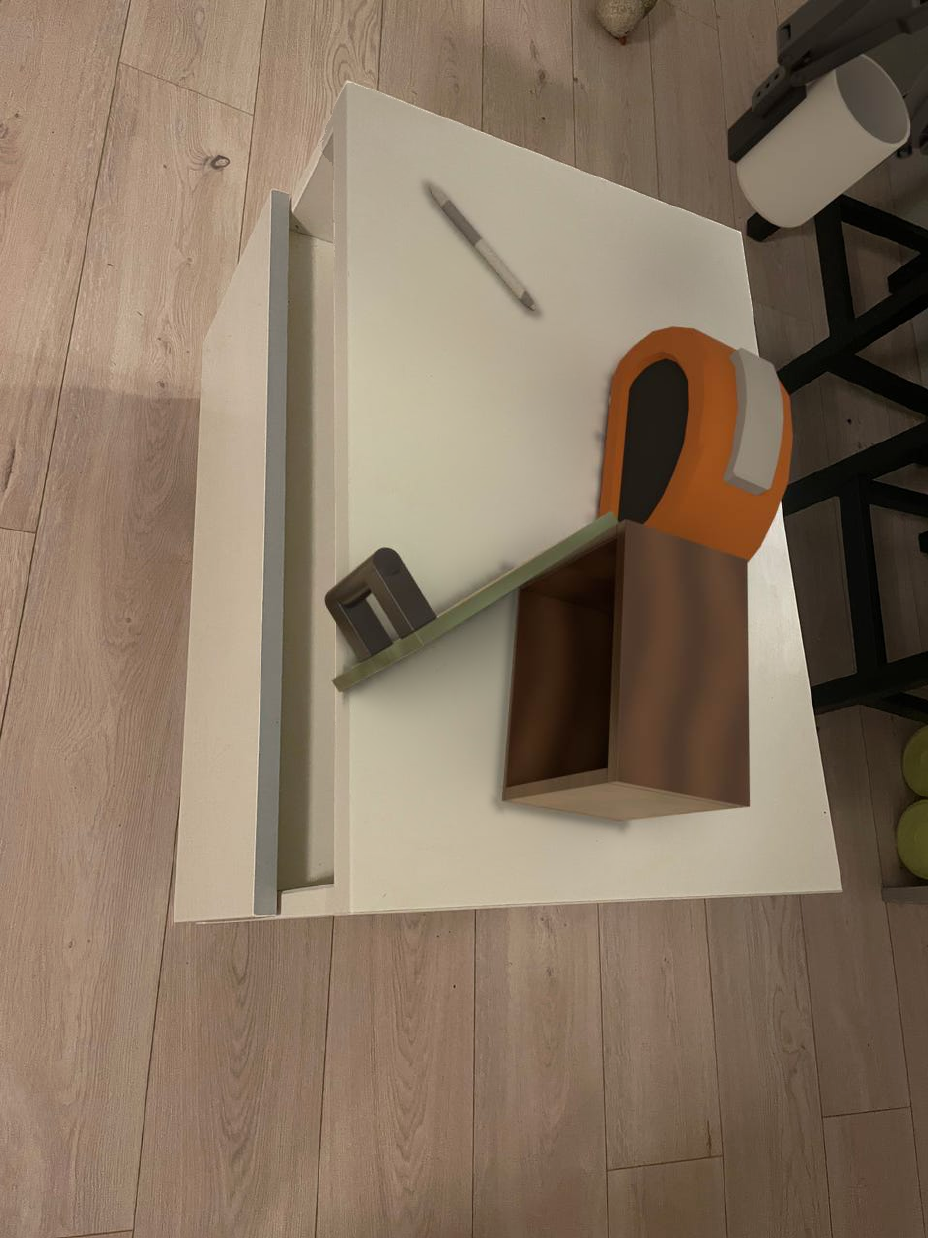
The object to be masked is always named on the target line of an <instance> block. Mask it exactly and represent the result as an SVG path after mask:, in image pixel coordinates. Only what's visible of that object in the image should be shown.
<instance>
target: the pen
mask: <svg viewBox="0 0 928 1238" xmlns="http://www.w3.org/2000/svg"><path fill="white" fill-rule="evenodd" d="M429 187H430V188H429V189H430V193H431V194H432V196H433V198H434V200H435V201H436V202H437V204H438V205H439V206H440V207H441V209H442V210H443V212H444V213H445V214H446V215H447V216H448V217H449V219H450V220H451V221H452V223H453V224H454V225H455V226H456V227H457V228H458V229H459V230H460V232H461V233H462V234H463V235H464V236H465V238H466V239H467V240H468V242H470V244H471V245H472V246H473V247H474V248H475V250H477V251H478V252H479V254H481V256H482V257H483V258H484V259H485V260H486V262H487V263H488V264H489V265H490V266H491V268H492V269H493V270H494V271H495V272H496V274H497V275H498V276H499V277H500V279H502V281H503V282H504V283H505V284H506V286H508V288H509V289H510V290H511V291H512V293H513V294H514V295H515V296H516V297H517V298H518V299H519V301H520V302H521V303H522V304H523V305H524V306H525V307H527V308H528V309H531V310H532V311H534V310H535V309H536V305H535V302H534V299H533V298H532V296H531V295H530V294H529V292H528V291H527V290H526V289H525V288H524V287H523V285H522V284H521V283H520V282H519V281H518V280H517V278H516V276H514V275H513V273H511V271H510V270H509V269H508V268H507V266H505V264H504V263H503V262H502V260H501V259H500V258H499V257H498V255H496V253H495V252H494V251H493V250H492V249H491V248H490V246H489V245H488V244H487V242H486V241H485V240H484V239H483V237H482V236H481V235H480V234H479V233H478V231H477V230H476V229H475V228H474V227H473V226H472V224H471V223H470V222H469V221H468V219H467V218H466V217H465V216H464V215H463V214H462V212H461V211H460V210H459V209H458V208H457V206H455V204H454V203H453V202H452V201H451V200H450V199H449V198H448V197H447V195H446V194H444V193H443V191H441V190H440V189H439V188H437V187H435V186H434V185H429Z"/></svg>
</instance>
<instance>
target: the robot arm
mask: <svg viewBox="0 0 928 1238" xmlns="http://www.w3.org/2000/svg"><path fill="white" fill-rule="evenodd" d="M927 27H928V0H919V5H918V6H917V0H807V1H806V2H804V4H802V5H801V6H800V7H799V8H798V9H797V10H795V11H794V12H793V13H792V14H791V15H790V16H788V17H787V18H786V19H785V20H784V21H783V22H781V23H780V24H779V26H778V27H776V30H775V40H776V41H775V42H776V59H777V61H776V62H777V64H778V66H777V67H776V68H775V69H774V70H773V71H772V72H771V73H770V74H769V75H768V76H767V77H766V78H765V79H764V80H763V81H762V82H761V84H760V85H759V86H757V87H756V88H755V90H754V91H753V93H752V94H751V95H752V96H751V106H750V107H749V108H748V109H747V110H746V111H745V112H744V113H743V114H742V115H741V116H740V117H739V118H738V119H737V120H735V122H733V124H732V125H731V126H730V127H728V129H727V160H729V161H730V162H732V163H734V164H737V162H738V161H739V160H740V159H742V158H743V157H744V156H745V155H746V154H747V153H748V152H749V151H750V150H751V149H752V148H753V147H754V146H755V145H756V144H758V143H759V142H760V141H761V140H762V139H763V138H764V137H765V136H766V135H767V134H768V133H769V132H770V131H771V130H772V129H774V128H775V127H776V126H777V125H778V124H779V123H780V122H781V121H782V120H783V119H784V118H785V117H786V116H787V115H788V114H790V113H791V112H792V111H793V110H794V109H795V108H796V107H797V106H798V105H799V104H800V103H801V102H802V101H803V100H804V99H806V98H807V96H806V84H807V83H809V82H811V81H813V80H815V79H817V78H819V77H820V76H822V75H824V74H826V73H828V72H830V71H832V70H834V69H836V68H837V67H839V66H841V65H843V64H845V63H847V62H849V61H851V60H852V59H854V58H856V57H858V56H860V55H862V54H864V55H865V53H867V52H869V51H872V50H873V49H875V48H877V47H879V46H881V45H882V44H884V43H886V42H889V41H890V40H892V39H894V38H896V37H898V36H900V35H902V34H906V35H913V34H915V33H918V32H919V31H921V30H923V29H925V28H927ZM903 100H904V102H905V105H906V108H907V111H908V114H909V120H910V135H909V137H908V139H907V142H906V143H904V144H903V145H902V146H901V147H899V148H898V149H897V150H896V151H894V152H893V153H892V154H891V155H889V156H888V157H887V158H885V159H884V160H883V161H882V162H880V163H879V164H878V165H877V166H875V167H874V168H873V169H872V170H870V171H869V172H868V173H867V174H865V175H864V176H863V177H865V176H868V175H870V174H872V172H873V171H875V170H876V168H879V166H881V165H882V164H883V163H885V162H886V161H887V160H889V159H890V158H891V157H892V156H894V157H895V158H896V159H897V160H906V159H909V158H910V157H912V156H913V155H914V151H913V149H918V150H919V152H920V154H921V155H922V156H928V63H927V64H926V65H925V67H924V68H923V70H922V72H921V73H920V75H919V76H918V77H917V79H916V81H915V82H914V84H913V85H912V86H911V88H910V90H909V91H908V92H907V94H906V96H905V97H904V98H903Z"/></svg>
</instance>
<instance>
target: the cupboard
mask: <svg viewBox="0 0 928 1238" xmlns="http://www.w3.org/2000/svg"><path fill="white" fill-rule="evenodd" d="M748 564H749V562H748V560H747V559H744V558H741V557H738V556H735V555H732V554H729V553H726V552H723V551H720V550H717V549H714V548H711V547H708V546H705V545H702V544H699V543H696V542H693V541H690V540H687V539H684V538H681V537H678V536H675V535H672V534H669V533H666V532H663V531H660V530H657V529H654V528H651V527H648V526H645V525H642V524H639V523H636V522H633V521H630V520H627V519H625V520H624V521H622V522H620V523H618V524H617V525H615V526H613V527H612V528H610V529H609V530H607V531H606V532H604V533H602V534H601V535H599V536H598V537H596V538H595V539H593V540H591V541H590V542H588V543H587V544H585V545H583V546H582V547H580V548H579V549H577V550H576V551H574V552H572V553H571V554H569V555H568V556H566V557H565V558H563V559H561V560H560V561H558V562H557V563H555V564H553V565H552V566H550V567H549V568H547V569H546V570H544V571H542V572H541V573H539V574H538V575H536V576H534V577H533V578H531V579H530V580H528V581H527V582H525V583H523V584H522V585H520V586H519V587H517V597H516V608H515V609H516V612H515V624H514V635H513V637H514V638H513V648H512V649H513V650H512V662H511V675H510V677H511V678H510V689H509V703H508V713H507V715H508V716H507V727H506V741H505V755H504V766H503V778H502V779H503V780H502V790H501V791H502V792H501V793H502V794H501V801H502V802H504V803H505V802H506V803H510V804H511V803H512V804H518V805H522V806H529V807H536V808H540V809H546V810H552V811H556V812H557V811H558V812H562V813H563V812H564V813H570V814H576V815H582V816H587V817H593V818H599V819H605V820H610V821H611V820H612V821H616V822H624V821H632V820H643V819H651V818H661V817H670V816H677V815H679V816H680V815H688V814H689V815H690V814H696V813H705V812H714V811H715V812H717V811H722V810H723V811H725V810H732V809H742V808H743V809H744V808H750V807H751V756H750V755H751V753H750V752H751V751H750V749H751V748H750V747H751V745H750V743H751V742H750V741H751V740H750V739H751V738H750V663H749V662H750V659H749V657H750V656H749V655H750V654H749V653H750V651H749V650H750V649H749V646H750V645H749V570H748V569H749V568H748V567H749V565H748Z"/></svg>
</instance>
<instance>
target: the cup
mask: <svg viewBox="0 0 928 1238" xmlns="http://www.w3.org/2000/svg"><path fill="white" fill-rule="evenodd" d="M806 96H807V98H806V99H804V100H803V101H802V102H801V103H800V104H799V105H798V106H797V107H796V108H795V109H794V110H793V111H792V112H791V113H790V114H788V115H787V116H786V117H785V118H784V119H783V120H782V121H781V122H780V123H779V124H778V125H777V126H776V127H775V128H774V129H772V130H771V131H770V132H769V133H768V134H767V135H766V136H765V137H764V138H763V139H762V140H761V141H760V142H759V143H758V144H756V145H755V146H754V147H753V148H752V149H751V150H750V151H749V152H748V153H747V154H746V155H745V156H744V157H743V158H742V159H740V160H739V161H738V162H737V163H736V172H737V173H736V175H737V179H738V182H739V186H740V188H741V190H742V193H743V194H744V196H745V198H746V199H747V201H748V203H749V204H750V205H751V206H752V208H753V209H754V210H755V211H756V212H757V213H758V214H759V215H760V216H761V217H762V218H763V219H765V220H766V221H767V222H769V223H770V224H773V225H775V226H777V227H779V228H788V229H789V228H796V227H799V226H802V225H803V224H805V223H806V222H808V221H809V220H810V219H811V218H813V217H814V216H815V215H817V214H818V213H819V212H820V211H822V210H823V209H824V208H825V207H826V206H828V205H829V204H831V202H833V201H834V200H835V199H837V198H838V197H839V196H840V195H842V194H843V193H844V192H845V191H847V190H848V189H849V188H851V187H852V186H853V185H854V184H856V183H857V182H858V181H859V180H861V179H862V178H863V177H865V176H866V175H865V174H867V173H868V172H869V171H870V170H872V169H873V168H874V167H875V166H877V165H878V164H879V163H880V162H882V161H883V160H884V159H885V158H887V157H888V156H889V155H891V154H892V153H893V152H894V151H896V150H897V149H898V148H899V147H901V146H902V145H903V144H904V143H906V142H907V139H908V137H909V135H910V120H909V114H908V111H907V108H906V105H905V102H904V98H903V97H902V94H901V92H900V90H899V88H898V87H897V85H896V84H895V82H894V81H893V79H892V78H891V76H890V75H889V74H888V73H887V72H886V71H885V70H884V68H883V67H882V66H881V65H879V64H878V63H877V62H876V61H875V60H873V59H872V58H871V57H869V56H867V55H865V53H864V54H862V55H860V56H858V57H856V58H854V59H852V60H851V61H849V62H847V63H845V64H843V65H841V66H839V67H837V68H836V69H834V70H832V71H830V72H828V73H826V74H824V75H822V76H820V77H819V78H817V79H815V80H813V81H811V82H809V83H807V84H806ZM864 175H865V176H864ZM867 175H868V174H867Z"/></svg>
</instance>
